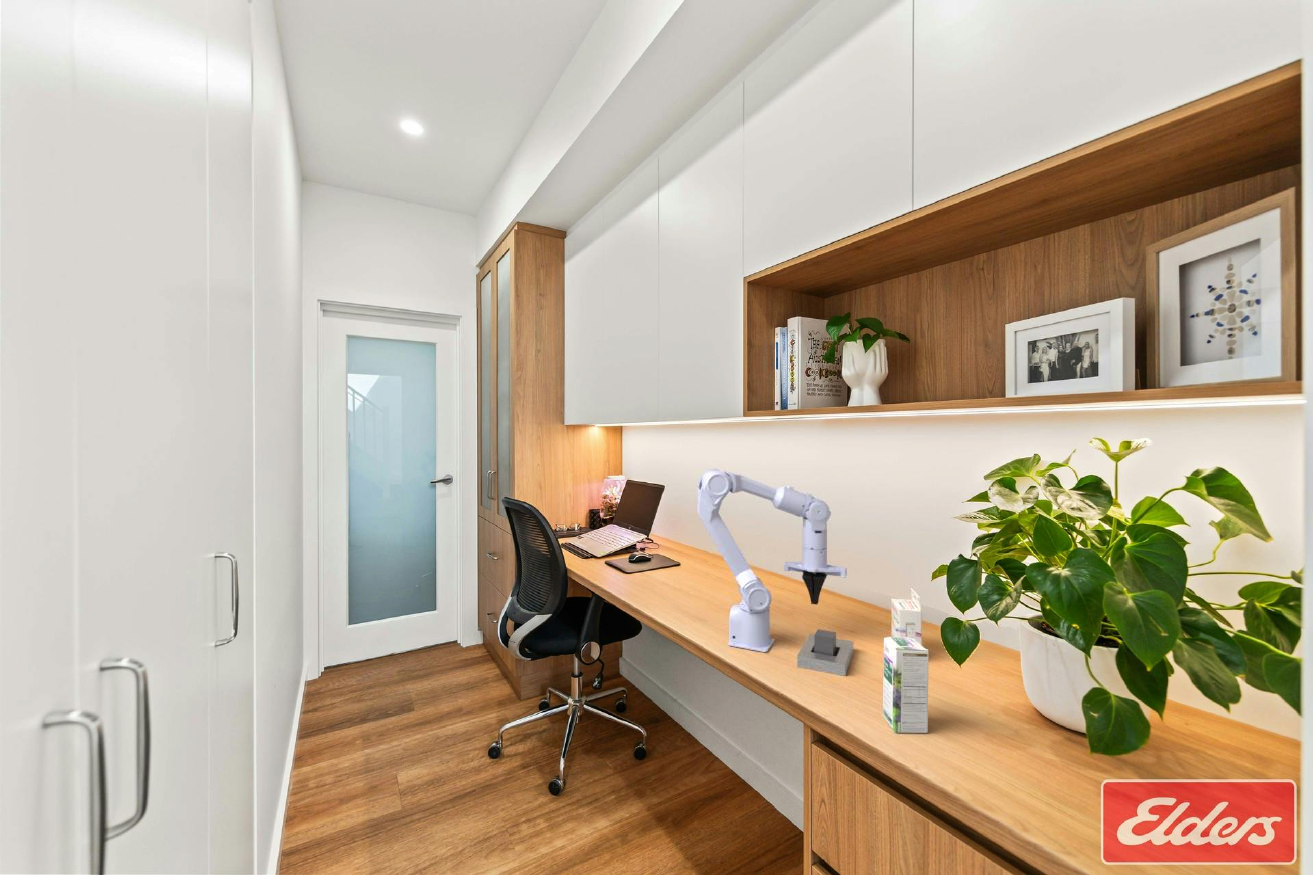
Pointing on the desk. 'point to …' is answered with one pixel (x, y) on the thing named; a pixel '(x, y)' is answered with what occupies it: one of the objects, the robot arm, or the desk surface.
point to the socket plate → (826, 657)
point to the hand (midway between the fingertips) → (814, 603)
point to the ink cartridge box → (907, 617)
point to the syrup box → (905, 685)
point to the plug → (825, 642)
